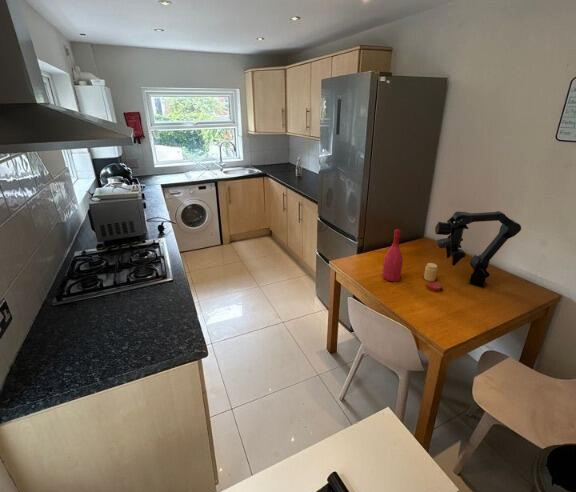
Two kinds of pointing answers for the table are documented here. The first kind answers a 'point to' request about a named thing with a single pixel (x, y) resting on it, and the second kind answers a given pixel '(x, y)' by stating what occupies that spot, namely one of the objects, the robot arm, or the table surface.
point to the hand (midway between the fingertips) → (450, 261)
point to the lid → (434, 286)
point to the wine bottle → (393, 260)
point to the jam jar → (430, 272)
